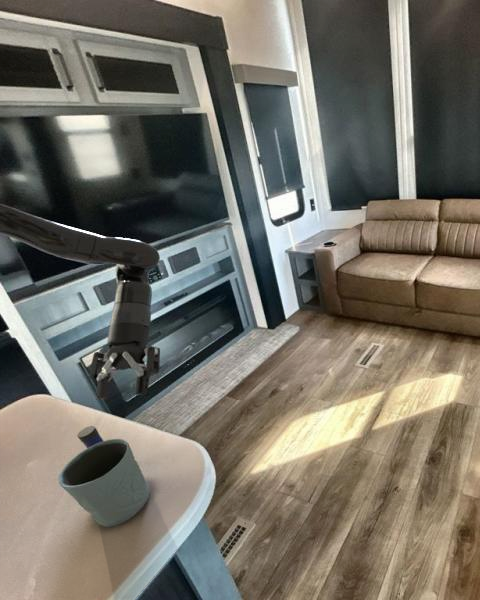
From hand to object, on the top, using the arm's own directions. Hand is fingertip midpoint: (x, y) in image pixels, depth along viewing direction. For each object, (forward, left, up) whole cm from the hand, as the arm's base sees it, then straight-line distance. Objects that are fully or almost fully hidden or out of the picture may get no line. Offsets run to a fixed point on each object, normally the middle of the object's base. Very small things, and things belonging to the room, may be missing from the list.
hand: (121, 396), depth 80 cm
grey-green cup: (+7, -18, -12) cm, 22 cm away
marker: (0, -10, -11) cm, 15 cm away
